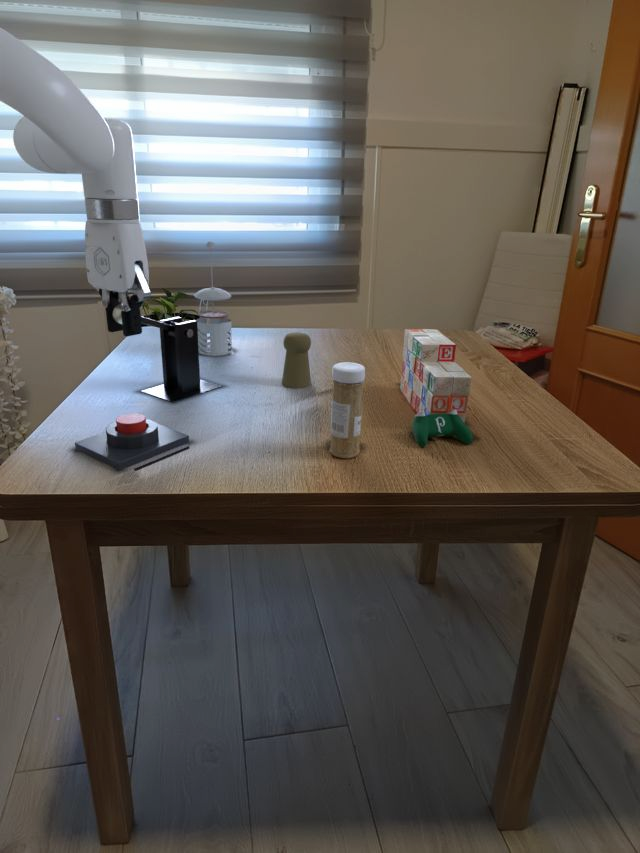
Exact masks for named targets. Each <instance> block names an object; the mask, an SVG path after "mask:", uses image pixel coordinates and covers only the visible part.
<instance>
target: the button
mask: <svg viewBox="0 0 640 853" xmlns="http://www.w3.org/2000/svg"><path fill="white" fill-rule="evenodd" d="M146 419H147V418H146V415H144V414H142V413H136V412H135V413H134V412H132V413H125V414H121V415H118V416H117V417H116V418H115V422H116V424H117V432H119V433H124V434H133V433H139V432H142V431H145V430H146V429H147V426H146Z"/></svg>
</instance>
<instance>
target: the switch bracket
mask: <svg viewBox="0 0 640 853" xmlns="http://www.w3.org/2000/svg"><path fill="white" fill-rule="evenodd" d="M158 322H162V323H165V324H168V325H170V322H175V323H177V324H174V327H175V337H174V336H171V335H168V330H164V329H161V328H159V338H160V339H159V340H160V352H161V353H160V354H161V363H162V364H161V366H162V379H163V384H160V385H156V386H152V387H149V388H146V389H142V390H140V391H139V392H140V393H143V394H146V395H149V396H152V397H154V398H157V399H160V400H164V401H167V402H169V403H172V404H175V403H177V402H181V401H184V400H187V399H189V398H192V397H195V396H199V395H201V394H204V393H208V392H211V391H214V390H217V389H221V388H223V385H221V384H218V383H214V382H211V381H208V380H204V379H202V378H201V374H200V373H201V372H200V354H199V348H198V327H197V321H196V320H195V319H193V320H188V321H183V317H180V316H174V317H170V318H165V319H160V320H158Z"/></svg>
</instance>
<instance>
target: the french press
mask: <svg viewBox="0 0 640 853" xmlns="http://www.w3.org/2000/svg"><path fill="white" fill-rule="evenodd" d="M206 248H210V250H209V251H210V275H211V276H210V278H211V281H210V282H211V286H210V287H207V288H202V289H200V290H198V291H197V292H195V293H194V294H193V296H194V298H195V299H198V300H200V302H199V311H198V312H197V313H196V315H197V316H198V317H199V318H197V319H196V320H195V321H197V327H198V348H199V355H202V356H212V357H213V356H214V357H215V356H225V355H229V354H230V355H233V356H234V355H235V356H236V355H237V354H236V353H235V351H233V342H232V341H233V340H232V339H233V338H232V319H231V318H228V317H229V316H230V312H228V311H227V310H218V309H215V307H214V301H225V300H229V299H231V298H232V295H231V293H229V292H228V291H227V290H224V289H223V288H220V287H219V288H218V287H214V283H213V282H214V281H213V278H214V277H213V251H212V248H216V244H215V242H214V241H207V243H206ZM205 301H206V303H205ZM202 304H203V305H204V306H205V309H206V310H202V308H201V306H202ZM211 304H212V310H211V309H208V306H209V305H211ZM208 335H209V336H208Z"/></svg>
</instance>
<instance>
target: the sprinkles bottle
mask: <svg viewBox="0 0 640 853" xmlns="http://www.w3.org/2000/svg"><path fill="white" fill-rule="evenodd" d="M331 378H332V399H331V411H330V412H331V416H330V417H331V418H330V447H329V453H330V454H331V455H332V456H334V457H336V458H340V459H352V458H355V457H357V456H358V455H359V454H360V453H361V449H360V443H361V442H360V440H361V439H360V438H361V428H362V413H363V412H362V411H363V410H362V409H363V402H362V401H363V386H364V382H365V379H366V368H365V366H364V365H363V364H361V363H357V362H347V361H346V362H337V363H335V364H334V365H333V366H332V376H331Z"/></svg>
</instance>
